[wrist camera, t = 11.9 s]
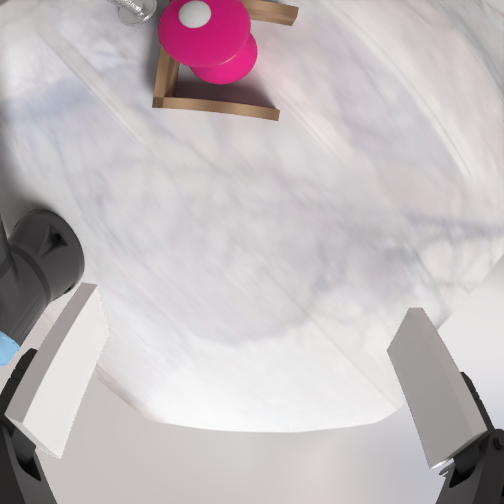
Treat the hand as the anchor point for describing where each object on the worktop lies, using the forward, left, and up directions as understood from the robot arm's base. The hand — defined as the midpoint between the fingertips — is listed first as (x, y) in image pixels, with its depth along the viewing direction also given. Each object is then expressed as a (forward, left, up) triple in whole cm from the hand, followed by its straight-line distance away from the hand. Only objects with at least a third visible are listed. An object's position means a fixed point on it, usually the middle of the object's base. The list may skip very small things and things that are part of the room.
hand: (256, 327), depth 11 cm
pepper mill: (-5, +13, -27) cm, 31 cm away
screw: (-17, +19, -27) cm, 37 cm away
